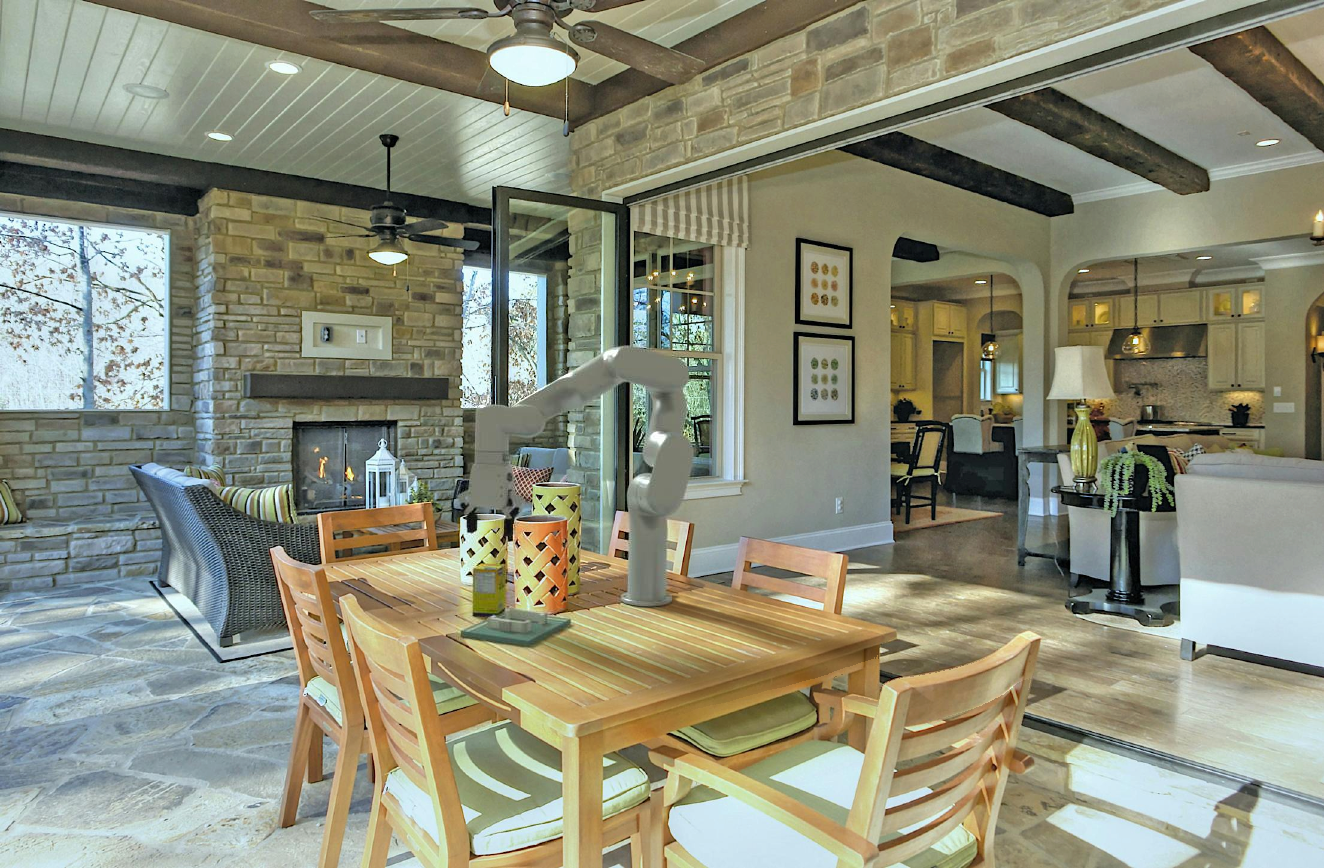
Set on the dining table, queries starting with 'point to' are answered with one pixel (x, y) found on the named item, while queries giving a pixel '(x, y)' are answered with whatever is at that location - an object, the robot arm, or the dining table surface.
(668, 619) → the dining table surface
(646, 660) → the dining table surface
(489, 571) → the supplement box
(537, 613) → the board
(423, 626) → the dining table surface
